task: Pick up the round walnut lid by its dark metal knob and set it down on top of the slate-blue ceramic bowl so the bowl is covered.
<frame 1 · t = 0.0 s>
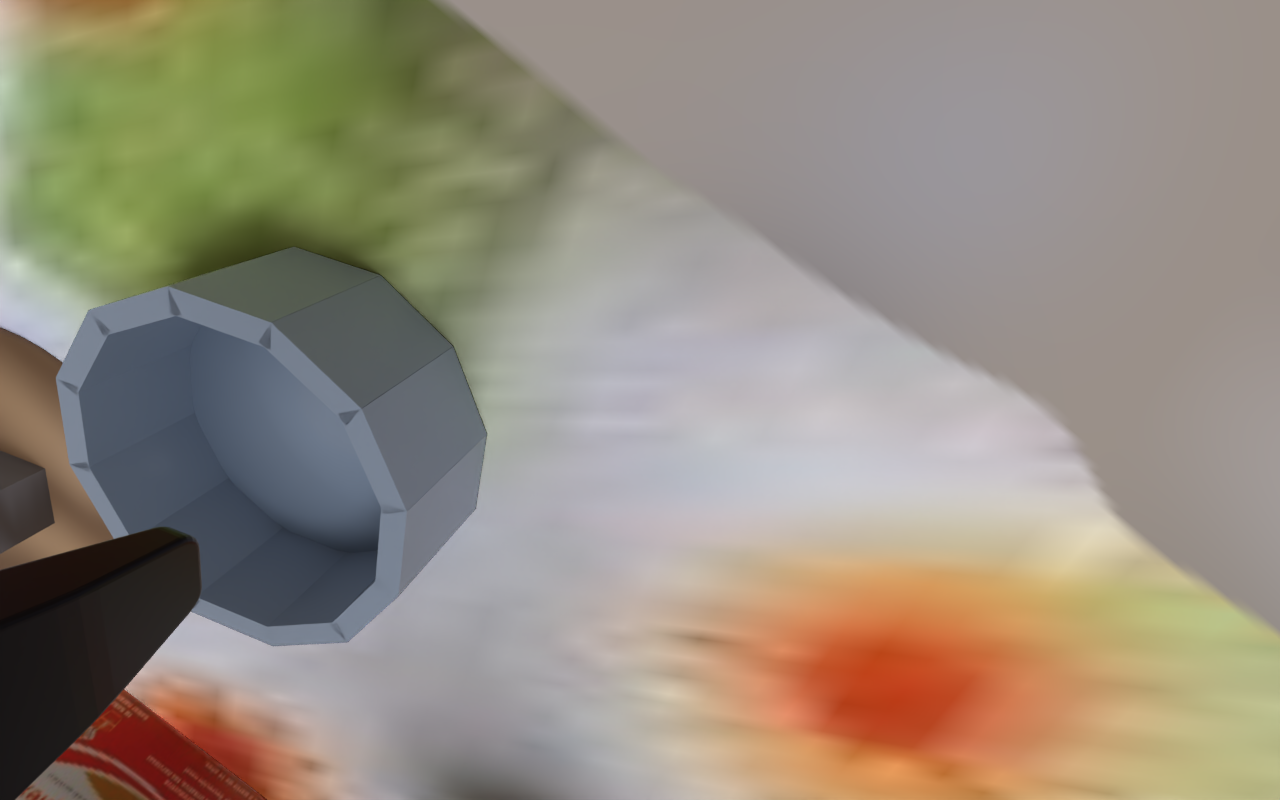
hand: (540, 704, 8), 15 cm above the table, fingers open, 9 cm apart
walnut lid: (39, 476, 33), on the table
red printed carton: (208, 792, 40), on the table
slate bowl: (331, 417, 27), on the table
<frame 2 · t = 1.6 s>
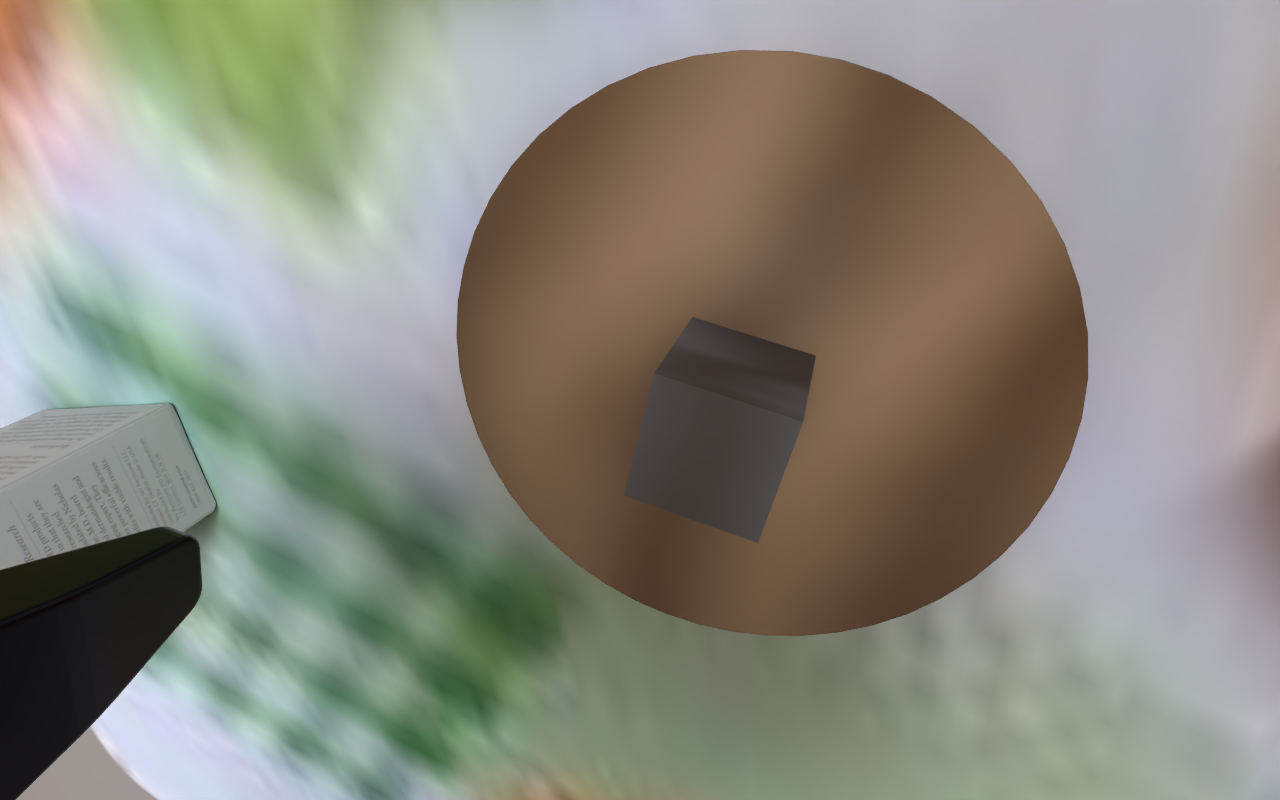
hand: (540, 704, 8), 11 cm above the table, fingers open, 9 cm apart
walnut lid: (741, 378, 19), on the table
skincare box: (141, 455, 26), on the table
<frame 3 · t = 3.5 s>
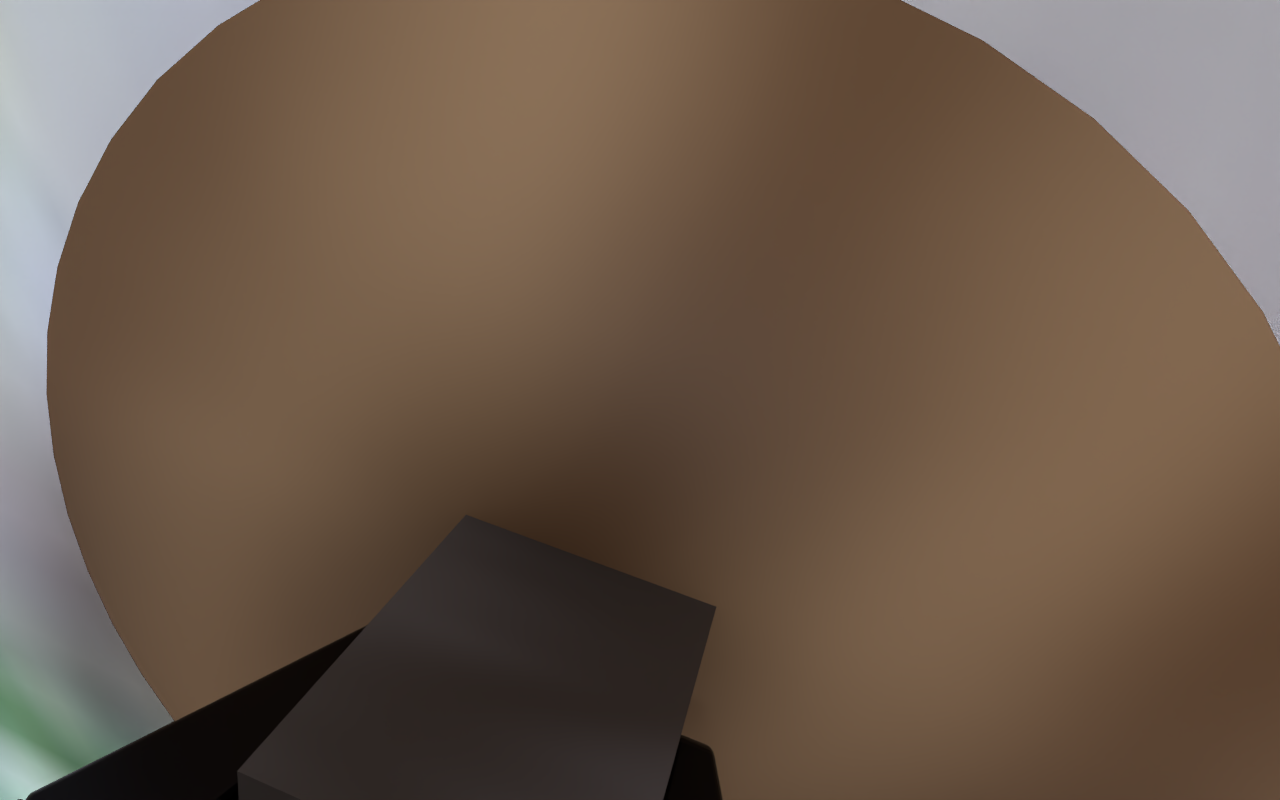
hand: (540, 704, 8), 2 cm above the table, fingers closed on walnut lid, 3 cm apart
walnut lid: (587, 611, 10), on the table, touching gripper
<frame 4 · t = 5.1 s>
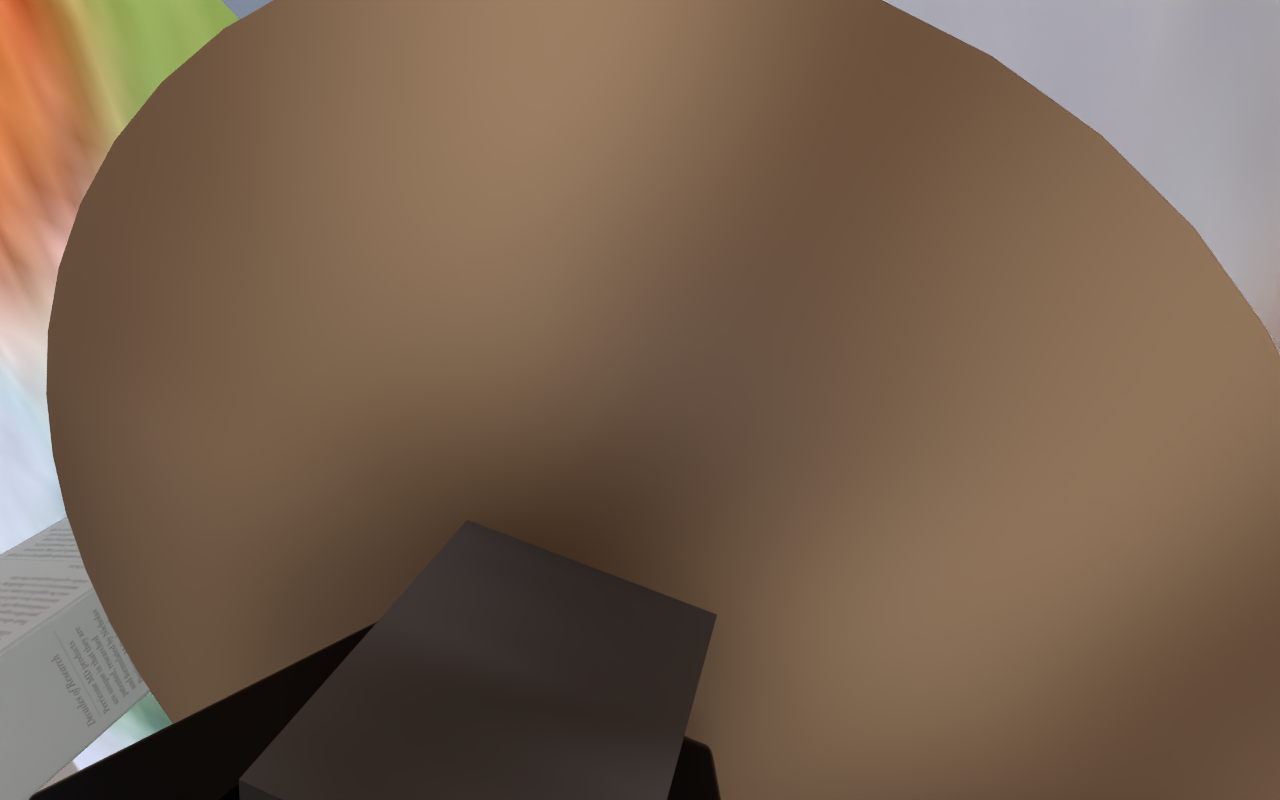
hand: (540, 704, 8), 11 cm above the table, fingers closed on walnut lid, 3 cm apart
walnut lid: (587, 616, 10), point 10 cm above the table, touching gripper
skincare box: (166, 558, 27), on the table
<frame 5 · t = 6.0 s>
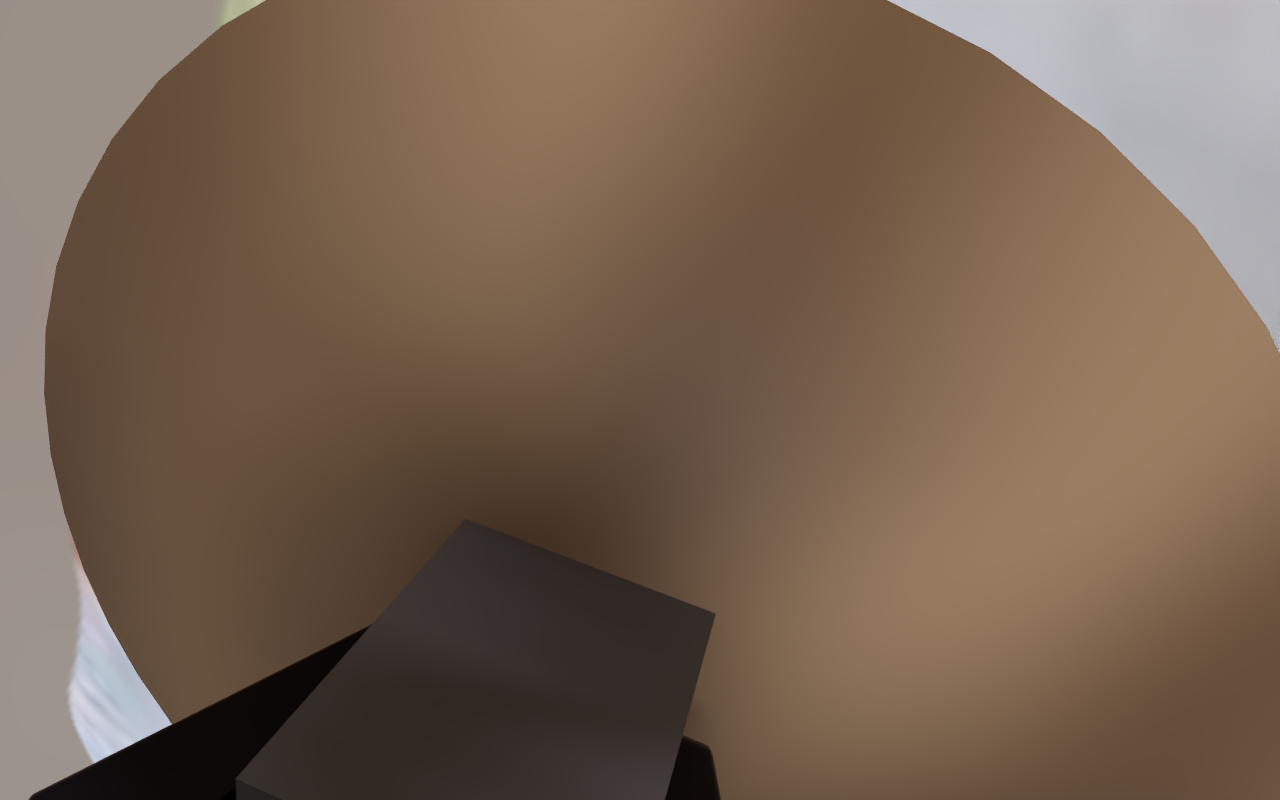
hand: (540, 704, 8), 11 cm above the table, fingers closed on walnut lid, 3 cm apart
walnut lid: (585, 616, 10), point 9 cm above the table, touching gripper
when the fingers open (8 cm above the table, at t = 6.7 s): walnut lid drops 1 cm, resting on slate bowl.
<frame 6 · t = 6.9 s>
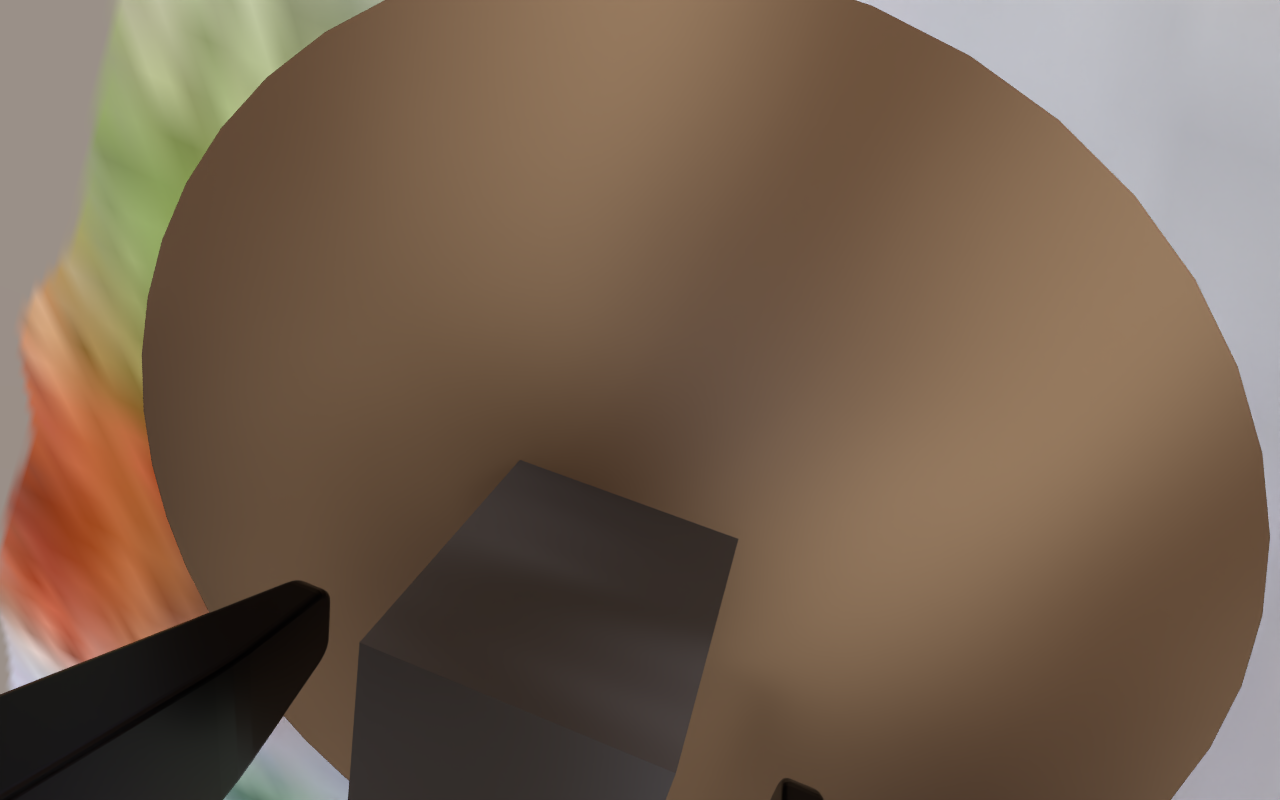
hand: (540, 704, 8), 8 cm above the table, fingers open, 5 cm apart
walnut lid: (620, 552, 11), point 5 cm above the table, touching slate bowl
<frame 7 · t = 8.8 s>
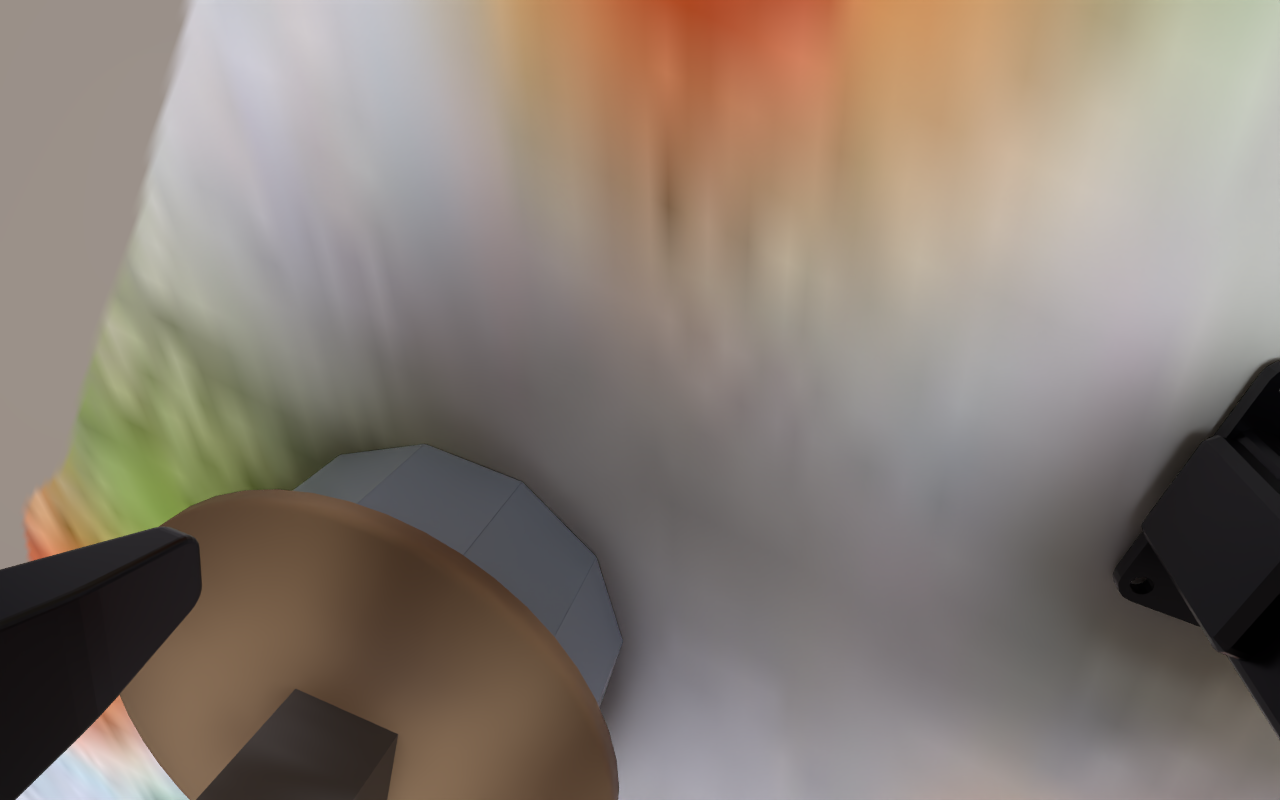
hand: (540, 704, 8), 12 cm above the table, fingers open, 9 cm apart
walnut lid: (359, 724, 21), point 5 cm above the table, touching slate bowl
slate bowl: (446, 606, 25), on the table
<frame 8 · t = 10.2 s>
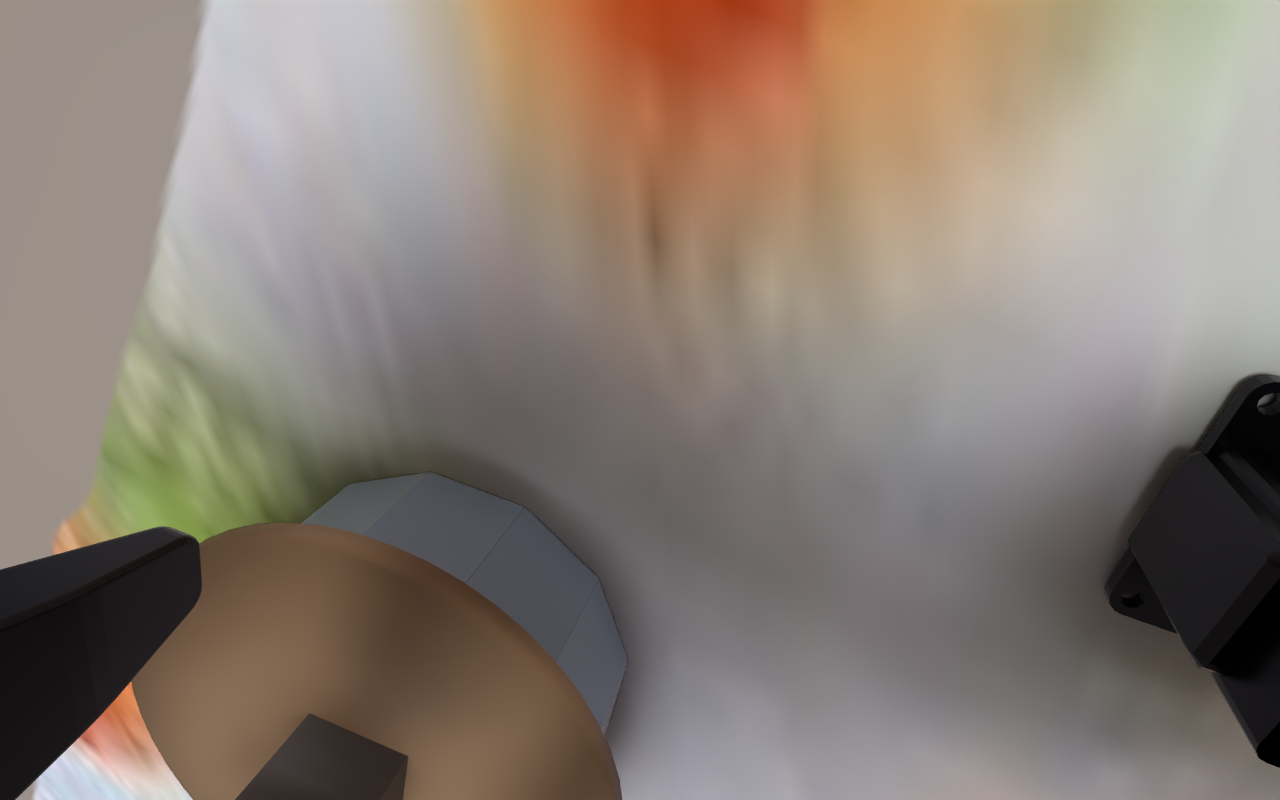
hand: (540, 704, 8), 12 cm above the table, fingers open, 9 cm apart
walnut lid: (372, 746, 21), point 5 cm above the table, touching slate bowl
slate bowl: (456, 628, 26), on the table
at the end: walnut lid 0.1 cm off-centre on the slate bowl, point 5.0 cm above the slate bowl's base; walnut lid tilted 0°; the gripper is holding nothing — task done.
